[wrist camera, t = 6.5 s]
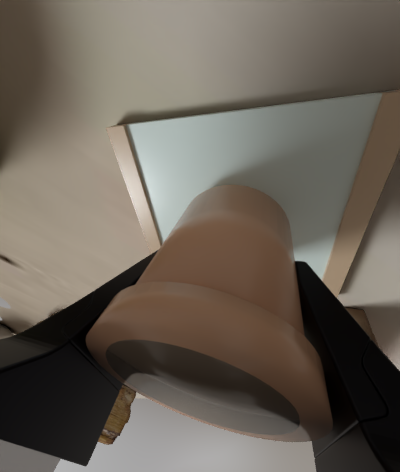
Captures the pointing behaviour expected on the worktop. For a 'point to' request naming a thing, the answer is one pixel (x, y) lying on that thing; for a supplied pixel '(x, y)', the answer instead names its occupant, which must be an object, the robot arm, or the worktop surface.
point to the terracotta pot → (221, 323)
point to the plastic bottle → (5, 332)
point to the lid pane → (271, 168)
